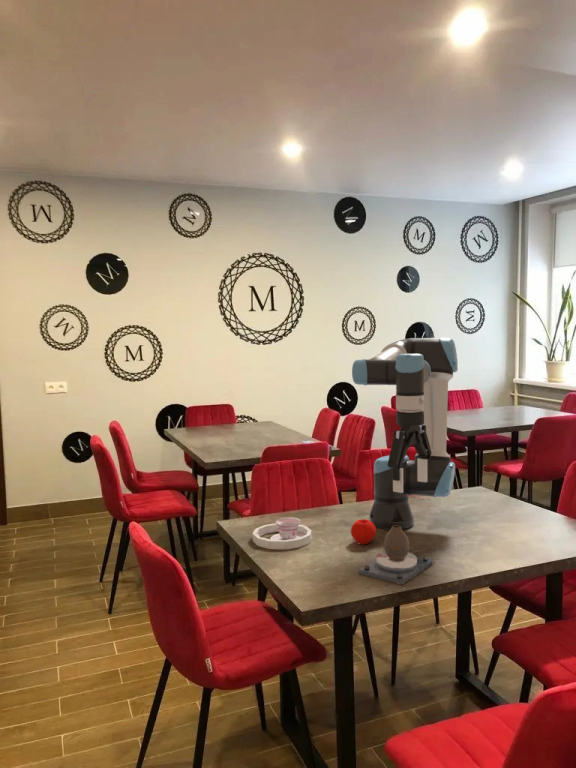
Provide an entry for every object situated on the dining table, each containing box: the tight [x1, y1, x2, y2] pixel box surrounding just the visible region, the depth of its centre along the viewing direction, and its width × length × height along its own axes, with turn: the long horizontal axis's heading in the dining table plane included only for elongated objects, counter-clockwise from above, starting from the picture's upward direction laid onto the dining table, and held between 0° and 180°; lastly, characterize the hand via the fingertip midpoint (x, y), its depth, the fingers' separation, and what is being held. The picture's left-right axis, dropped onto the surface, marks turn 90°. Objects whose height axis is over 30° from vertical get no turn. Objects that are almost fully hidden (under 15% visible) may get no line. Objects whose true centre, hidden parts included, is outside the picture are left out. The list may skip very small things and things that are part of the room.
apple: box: [350, 518, 377, 546], centre depth 191 cm, size 8×8×7 cm
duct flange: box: [358, 551, 434, 585], centre depth 169 cm, size 13×18×3 cm
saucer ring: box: [251, 523, 313, 550], centre depth 196 cm, size 18×18×2 cm
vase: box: [383, 525, 410, 560], centre depth 169 cm, size 7×7×9 cm
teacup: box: [269, 516, 304, 540], centre depth 195 cm, size 12×12×6 cm
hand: (410, 486), depth 169 cm, fingers open, 13 cm apart
